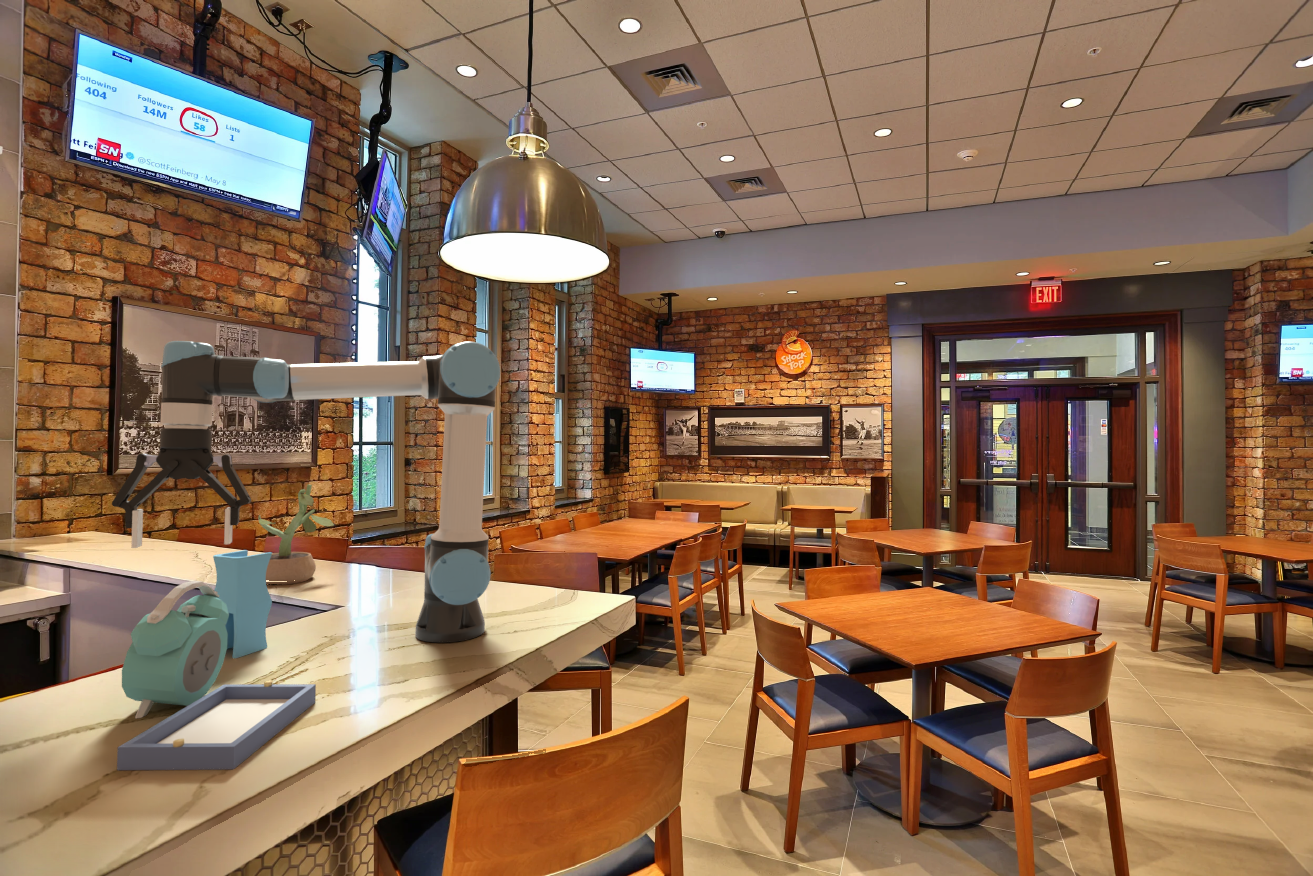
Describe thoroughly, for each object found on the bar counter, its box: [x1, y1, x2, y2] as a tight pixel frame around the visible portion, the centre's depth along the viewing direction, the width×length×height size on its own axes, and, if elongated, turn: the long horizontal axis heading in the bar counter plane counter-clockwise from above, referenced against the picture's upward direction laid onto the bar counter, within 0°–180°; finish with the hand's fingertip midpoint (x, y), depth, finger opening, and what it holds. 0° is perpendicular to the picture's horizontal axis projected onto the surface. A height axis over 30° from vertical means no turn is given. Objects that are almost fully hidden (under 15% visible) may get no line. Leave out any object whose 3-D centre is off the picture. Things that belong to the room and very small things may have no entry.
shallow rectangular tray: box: [116, 680, 317, 771], centre depth 95 cm, size 15×22×4 cm
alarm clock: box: [121, 580, 229, 719], centre depth 106 cm, size 17×10×20 cm, turn 5°
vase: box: [212, 549, 273, 659], centre depth 133 cm, size 8×8×20 cm
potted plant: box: [257, 484, 336, 585], centre depth 199 cm, size 22×18×30 cm
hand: (183, 545), depth 115 cm, fingers open, 13 cm apart
